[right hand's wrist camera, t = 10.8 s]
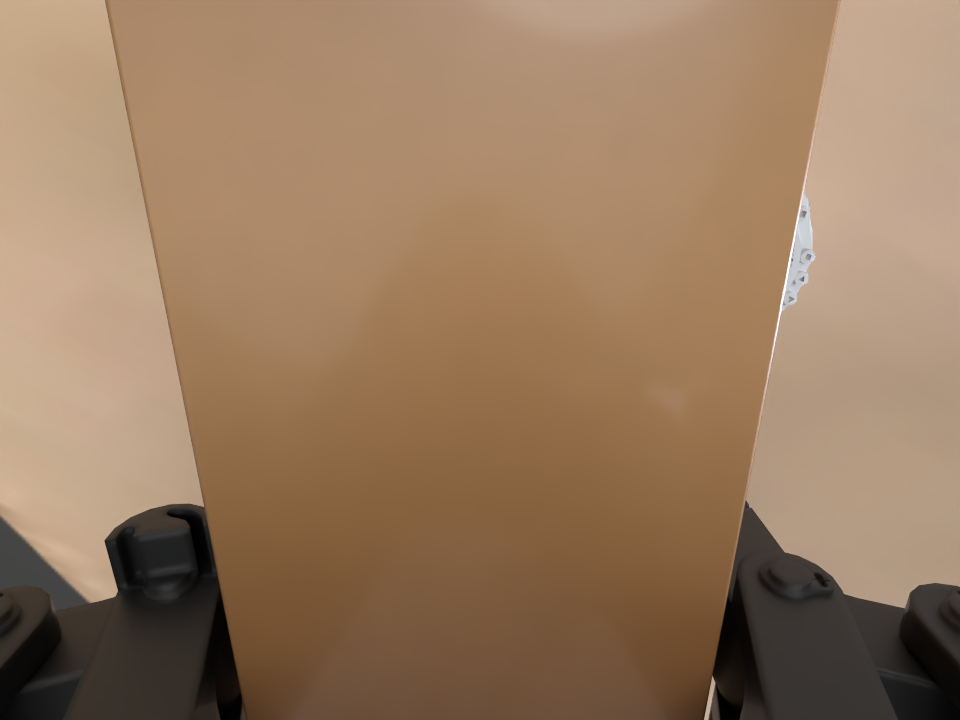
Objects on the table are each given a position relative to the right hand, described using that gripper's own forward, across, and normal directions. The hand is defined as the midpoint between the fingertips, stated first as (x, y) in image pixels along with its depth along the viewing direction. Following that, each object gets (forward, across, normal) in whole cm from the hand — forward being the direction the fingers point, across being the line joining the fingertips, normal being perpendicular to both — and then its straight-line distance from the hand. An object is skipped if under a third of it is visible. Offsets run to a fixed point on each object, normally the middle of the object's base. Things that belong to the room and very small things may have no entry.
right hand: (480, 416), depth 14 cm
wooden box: (+1, 0, -10) cm, 11 cm away
